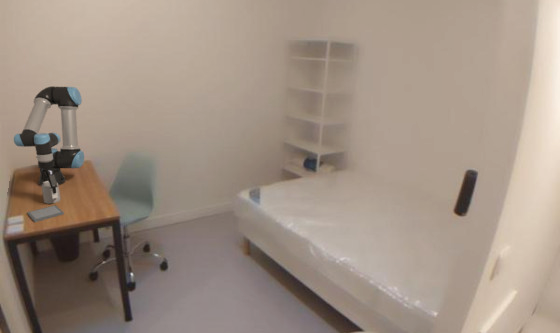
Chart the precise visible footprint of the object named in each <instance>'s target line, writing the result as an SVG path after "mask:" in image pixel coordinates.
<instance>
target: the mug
mask: <svg viewBox="0 0 560 333" xmlns="http://www.w3.org/2000/svg"><path fill="white" fill-rule="evenodd" d="M56 183H57V182H56ZM53 186H55V185H53ZM57 186H58V187H56V188H57V194H58V198H54V199H52V193H51V189H50V187H51V186H50V183H49V182H46V183H43V184H42V185H41V186H40V187H41V192H42V197H43V203H45V204H48V205H51V204H55V203H59V202H60V201H61V200H62V199H61V194H60V193H61V192H60V185H58V183H57Z"/></svg>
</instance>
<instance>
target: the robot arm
mask: <svg viewBox="0 0 560 333" xmlns="http://www.w3.org/2000/svg"><path fill="white" fill-rule="evenodd" d="M82 100H83V99H82V96H81V92H80V91H79V89H78V88H77V87H73V86H55V85H54V86H48V87H47V86H46V87H45V88H42V90H40V91H39V92H38V93H37V94H36V95H35V97H34V99H33V107H32V108H31V111H30V114H29V116H28V117H27V120H26V122H25V125H24V127H23V129H22V131H21V133H17V134H15V135H14V136H13V143H14V144H15V146H17V147H22V148H24V147H25V148H26V147H30V148H31V147H35V152H36V153H35V154H36V156H35V158H36V159H37V164H38V168H39V178H38V185H39V186H40V187H41V185H42V184H43V183H46V182H49V183H50V186H51V187H50V189H51V193H52V199H54V198H58V194H57V188H56V187H58V186H61V185H63V184H64V183H65V182H66V177H65V175H64V174H63V173H62V170H61V169H79V168H81V167H82V166H83V165H84V162H85V153H84V151H83V150H81V147H80V146H79V145H78V130H77V129H78V126H77V123H78V122H77V110H78V109H79V106H80V105H82ZM53 105H54V106H55V105H57V108H58V109H59V110H60V116H61V117H60V118H61V136H62V137H61V136H60V135H59V134H58V133H57V132H49V133H39V131H40V129H41V127H42V125H43V122H44V120H45V117H46V114H47V112H48V110H49V109H50V108H51V107H52V106H53ZM61 138H62V146H61V148H59V149H60V150H59V151H58V149H57V148H55V146H58V144H59V143H60V142H61ZM53 147H54V148H53ZM56 182H57V183H58V186H57V183H56ZM53 185H55V186H53Z"/></svg>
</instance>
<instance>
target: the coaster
mask: <svg viewBox="0 0 560 333" xmlns="http://www.w3.org/2000/svg"><path fill="white" fill-rule="evenodd" d="M26 214H27V216H28V217H29V218H30V219H31V220H32V221H33V222H34V223H37V222H41V221H44V220H48V219H51V218H57V217H58V216H59V217H60V216H63V215H64V214H65V212H64V211H63V210H62V209H61V208H59V206H57V205H56V204H55V205H50V206H46V207H43V208H39V209H34V210H31V211H27V212H26Z"/></svg>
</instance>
